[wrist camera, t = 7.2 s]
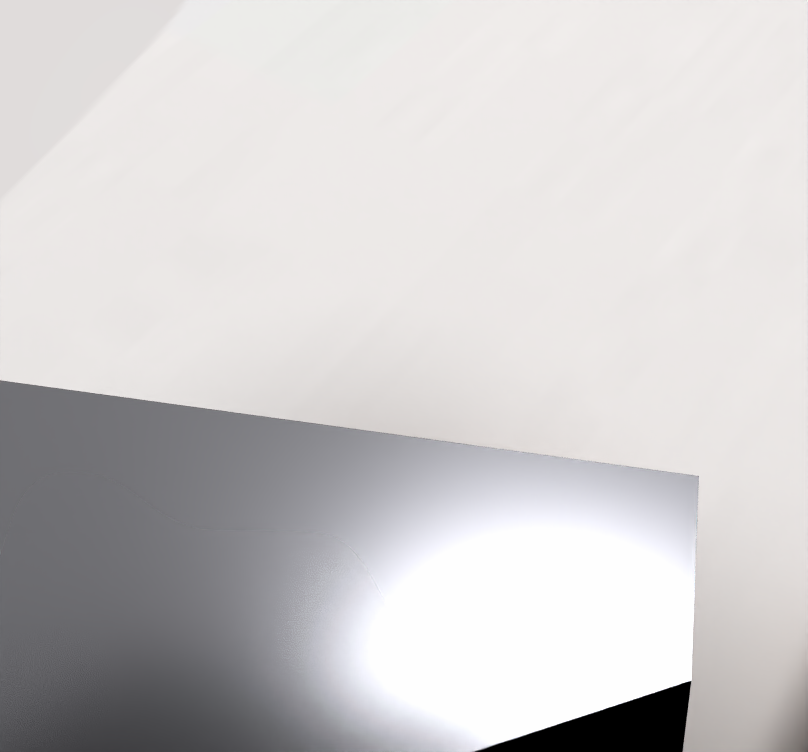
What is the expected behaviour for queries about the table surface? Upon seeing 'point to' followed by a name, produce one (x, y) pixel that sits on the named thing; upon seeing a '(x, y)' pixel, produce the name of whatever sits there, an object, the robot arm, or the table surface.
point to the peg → (329, 588)
